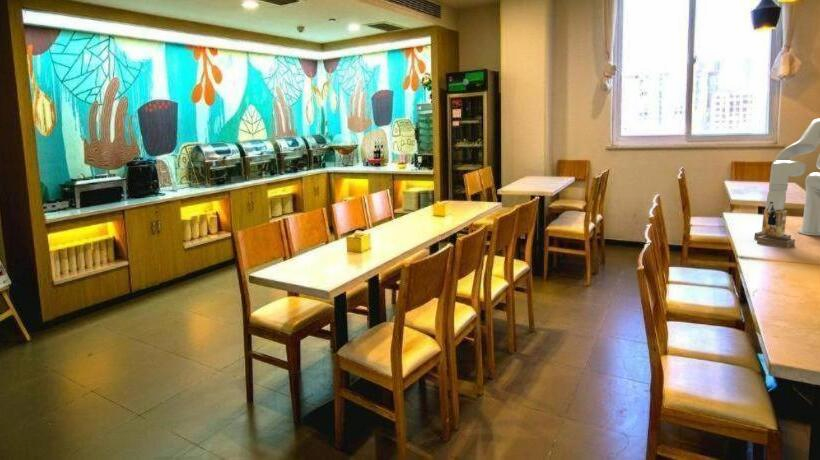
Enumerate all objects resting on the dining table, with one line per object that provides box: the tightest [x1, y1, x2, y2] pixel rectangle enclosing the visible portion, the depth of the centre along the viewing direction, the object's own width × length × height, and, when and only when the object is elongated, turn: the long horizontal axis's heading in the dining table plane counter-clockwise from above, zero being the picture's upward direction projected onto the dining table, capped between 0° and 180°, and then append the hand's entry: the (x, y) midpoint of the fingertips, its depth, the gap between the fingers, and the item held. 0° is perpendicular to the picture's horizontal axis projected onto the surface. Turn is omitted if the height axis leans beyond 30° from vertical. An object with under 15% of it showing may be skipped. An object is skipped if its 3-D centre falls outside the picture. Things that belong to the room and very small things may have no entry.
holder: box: [754, 230, 796, 249], centre depth 270 cm, size 16×18×3 cm
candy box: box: [761, 209, 788, 237], centre depth 273 cm, size 9×4×15 cm, turn 34°
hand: (773, 223), depth 273 cm, fingers closed on candy box, 4 cm apart
